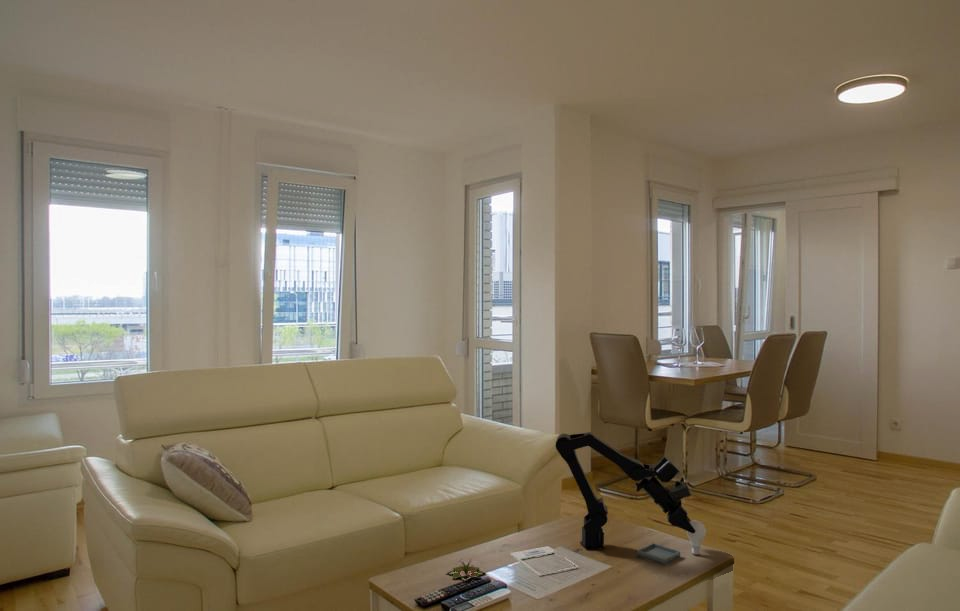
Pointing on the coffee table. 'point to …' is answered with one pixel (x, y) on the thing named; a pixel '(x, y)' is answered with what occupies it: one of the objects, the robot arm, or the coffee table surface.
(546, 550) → the photo frame
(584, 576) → the coffee table surface
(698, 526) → the lightbulb
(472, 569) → the flower arrangement
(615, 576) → the coffee table surface
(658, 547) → the dish
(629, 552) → the coffee table surface
